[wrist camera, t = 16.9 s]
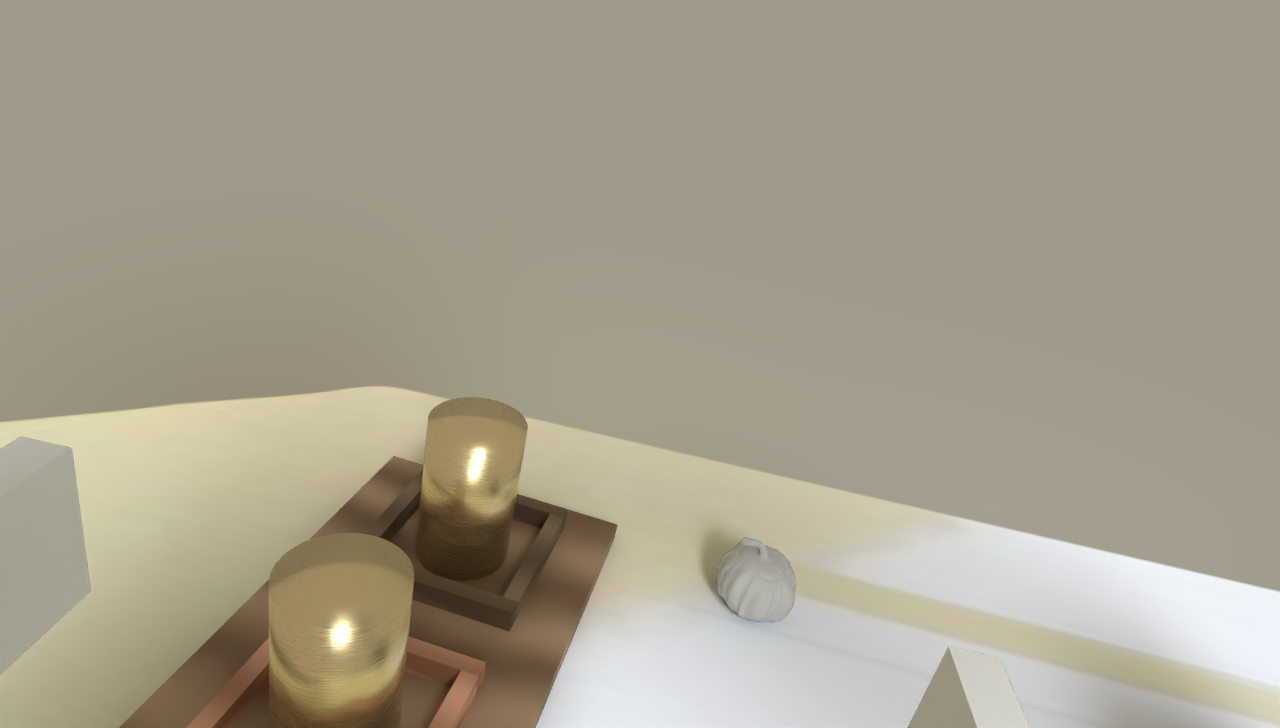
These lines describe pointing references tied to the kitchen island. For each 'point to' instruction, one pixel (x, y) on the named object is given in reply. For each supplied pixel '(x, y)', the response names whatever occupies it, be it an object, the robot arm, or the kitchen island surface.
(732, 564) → the garlic
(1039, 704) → the kitchen island surface
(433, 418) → the cylinder
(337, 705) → the brass billet
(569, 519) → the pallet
